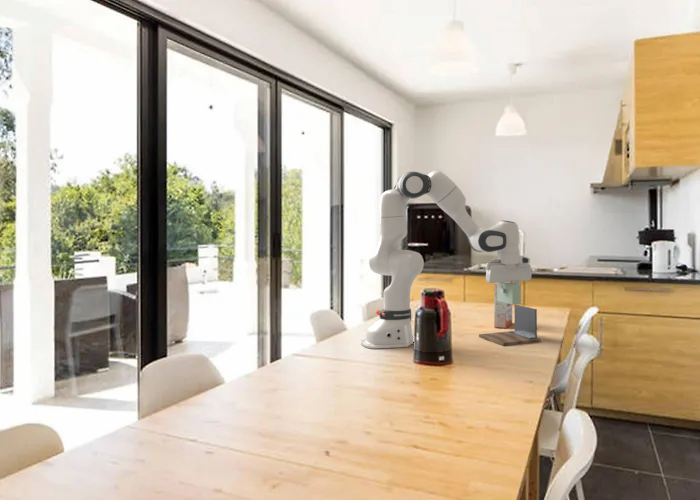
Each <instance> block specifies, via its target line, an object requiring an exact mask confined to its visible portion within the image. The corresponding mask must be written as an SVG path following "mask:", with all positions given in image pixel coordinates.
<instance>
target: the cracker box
mask: <svg viewBox="0 0 700 500" xmlns="http://www.w3.org/2000/svg"><path fill="white" fill-rule="evenodd" d="M510 283H514V281H513V282H510ZM493 284H494V286H493V287H494V291H493V292H494V299H493V303H494V304H493V305H494V307H493V308H494V310H493V311H494V313H493V315H494V316H493V317H494V321H493V322H494V323H493V324H494V328H496V329H507V328H508V327H510V326H512V324H513V304H509V303H504V302H500V301H497V283H493Z"/></svg>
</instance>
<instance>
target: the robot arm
mask: <svg viewBox="0 0 700 500" xmlns="http://www.w3.org/2000/svg"><path fill="white" fill-rule="evenodd" d="M425 195H427V196H429V197H430V198H431V199H432V201H434V203H435V204H436V205H437V206H438V208H440V209H441V210H442V211H443V212H444V213H445V214H447V215H448V216H449V217H450V218H451V219H452V220H453V221H454V222H455V223H456V225H458V227H459V228H460V230H461V231H462V232H463V233H464V234H465V236H466V239H467V241H468V244H469V246H470V248H471V249H472V250H473V251H475V252H478V253H492V252H493V253H494V252H496V251H497V252H496V253H497V259H494V260H489V261H488V262H486V273H485V281H486V282H487V283H489V284H490V283H491V284H495V283H498V286H499V287H500V292H501V293H506V289H504V287H503V285H504V282H513V283H516V284H520V282H524V281H527V282H528V281H530V280H531V279H532V267H531V264H530V263H531V258H530V257H526V256H525V255H524V256H523V255H520V249H519V245H520V230H519V229H520V228H519V226H518V224H517V223H516V222H514V221H510V220H499V221H498V222H497V223H495V224H494V225H493V226H490V227H487V228H482V227H481V226H479V225H478V224H477V223H476V222H475V221H474V219H473V218H472V217H471V216H470V214H469V213H468V211H467V209H466V201H467V199H466V197H465V194H464V193H463V192H462V190H461V189H460V188H459V187H458V185H457V184H456V183H455V182H454V181H453V180H452V179H451V178H450V177H449V176H447V174H445V173H444V172H442V171H441V170H437V169H436V170H433V171H431V172H429V173H428V174H424V173H421V172H419V171H407V172H404V173H403V174H401V176H399V178H398V179H397V180H396V183H395V186H394V188H393V189H387V190H386V191H384V192H382V194H381V195H380V199H379V229H380V230H379V231H380V232H379V233H380V234H379V235H380V236H379V240H378V243H377V247H376V249H375V250H374V251H373V252H372V253H371V255H370V256H369V260H368V264H369V268H370V270H371V271H372V272H373V273H375V274H377V275H382V276H389V277H390V276H392V279H391V282H390V284H389V285H388V286H386V287H385V288H384V290H383V295H382V296H383V298H382V299H383V302H382V303H383V309H382V310H379V309H376V310H375V314H376V315H377V316H379V318H378V319H377V320H376V321H375V322H374V323H372V324H371V325H370V326H369V327H368V328H367V329H366V334H365V339H361V340H360V344H361V346H363V347H364V348H368V349H375V350H376V349H391V348H392V349H393V348H408V347H409V346H411V345H413V344H414V343H413V338H414V335H413V329H412V309H411V289H412V285H413V282H414V281H415V280H416V278H417V277H418V276H419V275H420V274H421V273H422V271H423V270H424V267H425V266H424V265H425V261H424V258H423V255H421V253H420V252H418V251H414V250H410V249H399V247H400V244H401V243H400V242H401V241H402V240H403V239H404V238H406V237H407V235H408V224H407V223H408V221H407V204H408V202H409V200H413V199H418V198H420V197H422V196H425Z"/></svg>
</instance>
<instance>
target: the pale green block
mask: <svg viewBox="0 0 700 500" xmlns="http://www.w3.org/2000/svg"><path fill="white" fill-rule="evenodd" d="M521 286H522V284H521V283H519V284H516V283H514V282H513V283H510V282H504V285H503V287H504V289H506V293H501V292H500V287H499V286H498V283H497V301H500V302H504V303H509V304H512V305H521V304H522V289H521V288H522V287H521Z"/></svg>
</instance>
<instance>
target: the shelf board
mask: <svg viewBox="0 0 700 500" xmlns="http://www.w3.org/2000/svg"><path fill="white" fill-rule="evenodd" d="M510 331H511V330H509V331H499V332H489V333H479V334H478V337H479V338H480V339H483V340H485V341H489V342H491V343H494V344H497V345H499V346H502V347H505V346H506V347H507V346H517V345H524V344H526V345H527V344H534V343H542V338H540V337H537V338H533V339H528V338H525V337H521V336H518V335H515V334H512V333H509V332H510Z"/></svg>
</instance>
